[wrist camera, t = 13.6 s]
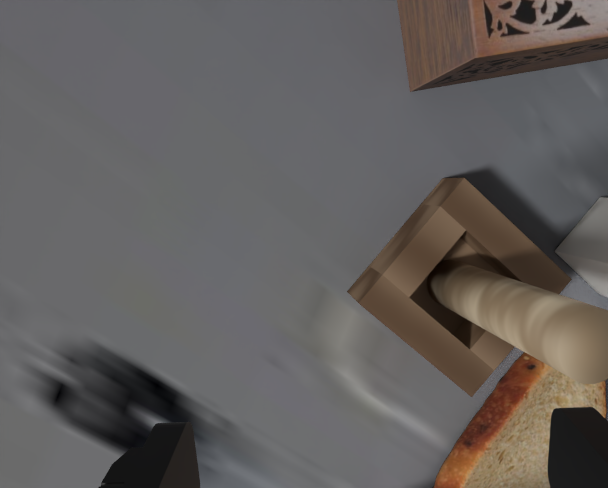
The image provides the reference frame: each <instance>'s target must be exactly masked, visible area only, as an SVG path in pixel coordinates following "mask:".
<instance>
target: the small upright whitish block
mask: <svg viewBox="0 0 608 488" xmlns="http://www.w3.org/2000/svg"><path fill="white" fill-rule="evenodd" d="M554 252H555V253H556V254H557V255H559V256H560V257H561V258H562V259H563V260H564V261H565V262H566V263H567V264H568V265H569V266H570V267H571V268H572V269H573V270H574V271H575V272H576V273H577V274H578V275H579V276H581V277H582V278H583V279H584V280H585V281H586V282H587V283H588V284H589V285H590V286H591V287H592V288H593V289H594V290H595V291H596V292H597V293H598V294H599V295H603V296H606V297H608V198H604V197H600V198H599V199H598V200H597V201H596V203H595V204H594V205H593V206H592V207H591V209H590V210H589V211H588V212H587V213H586V214H585V216H584V217H583V218H582V219H581V220H580V221H579V223H578V224H577V225H576V226H575V227H574V229H573V230H572V231H571V232H570V233H569V234H568V236H567V237H566V238H565V239H564V240H563V242H562V243H561V244H560V245H559V246H558V247H557V249H556V250H555V251H554Z"/></svg>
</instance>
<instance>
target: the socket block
mask: <svg viewBox="0 0 608 488" xmlns="http://www.w3.org/2000/svg"><path fill="white" fill-rule="evenodd" d="M444 260H457V261H460V262H463V263H466V264H469V265H472V266H475V267H478V268H481V269H484V270H487V271H490V272H493V273H496V274H499V275H502V276H505V277H508V278H511V279H514V280H517V281H520V282H523V283H526V284H529V285H532V286H535V287H538V288H541V289H544V290H547V291H550V292H553V293H556V294H560V292H561V291H562V290H563V289H564V288H565V287H566V285H567V284H568V283H569V282H570V281H571V280H572V279H571V278H570V277H569V276H568V275H567V274H566V273H565V272H563V271H562V270H561V269H560V268H559V267H558V266H557V265H556V264H555V263H554V262H553V261H552V260H551V259H550V258H549V257H548V256H547V255H545V254H544V253H543V252H542V251H541V250H540V249H539V248H538V247H537V246H536V245H535V244H534V243H533V242H532V241H531V240H530V239H529V238H528V237H526V236H525V235H524V234H523V233H522V232H521V231H520V230H519V229H518V228H517V227H516V226H515V225H514V224H513V223H512V222H511V221H510V220H509V219H507V218H506V217H505V216H504V215H503V214H502V213H501V212H500V211H499V210H498V209H497V208H496V207H495V206H494V205H493V204H492V203H491V202H489V201H488V200H487V199H486V198H485V197H484V196H483V195H482V194H481V193H480V192H479V191H478V190H477V189H476V188H475V187H474V186H473V185H472V184H470V183H469V182H468V181H467V180H466V179H465V178H443V179H442V180H441V181H440V182H439V183H438V185H437V186H436V187H435V188H434V189H433V191H432V192H431V193H430V194H429V195H428V196H427V198H426V199H425V200H424V201H423V202H422V204H421V205H420V206H419V207H418V208H417V209H416V211H415V212H414V213H413V214H412V215H411V217H410V218H409V219H408V220H407V221H406V223H405V224H404V225H403V226H402V227H401V228H400V230H399V231H398V232H397V233H396V234H395V236H394V237H393V238H392V239H391V240H390V241H389V243H388V244H387V245H386V246H385V247H384V249H383V250H382V251H381V252H380V253H379V255H378V256H377V257H376V258H375V259H374V260H373V262H372V263H371V264H370V265H369V266H368V268H367V269H366V270H365V271H364V272H363V273H362V275H361V276H360V277H359V278H358V279H357V281H356V282H355V283H354V284H353V285H352V286H351V288H350V289H349V290H348V291H347V292H348V293H349V294H350V295H351V296H352V297H353V298H354V299H355V300H356V301H357V302H358V303H359V304H360V305H361V306H363V307H364V308H365V309H366V310H367V311H369V312H370V313H371V314H372V315H373V316H375V317H376V318H377V319H378V320H379V321H381V322H382V323H383V324H384V325H385V326H387V327H388V328H389V329H390V330H391V331H393V332H394V333H395V334H396V335H397V336H399V337H400V338H401V339H402V340H403V341H405V342H406V343H407V344H408V345H410V346H411V347H412V348H413V349H414V350H416V351H417V352H418V353H419V354H420V355H422V356H423V357H424V358H425V359H426V360H428V361H429V362H430V363H431V364H432V365H434V366H435V367H436V368H437V369H438V370H440V371H441V372H442V373H443V374H444V375H446V376H447V377H448V378H449V379H450V380H452V381H453V382H454V383H455V384H456V385H458V386H459V387H460V388H461V389H462V390H464V391H465V392H466V393H467V394H468V395H470V396H471V397H472V396H473V395H474V394H475V392H476V391H477V390H478V389H479V388H480V387H481V385H482V384H483V383H484V382H485V381H486V380H487V378H488V377H489V376H490V375H491V374H492V372H493V371H494V370H495V369H496V368H497V367H498V365H499V364H500V363H501V362H502V361H503V360H504V358H505V357H506V356H507V355H508V354H509V352H510V351H511V350H512V349H513V348H514V347H515V346H513V345H511V344H510V343H508V342H506V341H504V340H502V339H501V338H499V337H497V336H495V335H494V334H492V333H490V332H488V331H487V330H485V329H483V328H481V327H480V326H478V325H476V324H474V323H472V322H471V321H469V320H467V319H465V318H464V317H462V316H460V315H458V314H457V313H455V312H453V311H451V310H449V309H448V308H446V307H444V306H442V305H441V304H439V303H437V302H436V301H434V300H433V299H432V297H431V296H430V294H429V292H428V289H427V279H428V276H429V273H430V272H431V271H432V270H433V269H434V268H435V266H436V265H437V264H438V263H440V262H442V261H444Z"/></svg>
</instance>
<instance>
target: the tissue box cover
mask: <svg viewBox="0 0 608 488" xmlns="http://www.w3.org/2000/svg"><path fill="white" fill-rule="evenodd" d="M397 2H398V9H399V16H400V23H401V30H402V37H403V44H404V51H405V58H406V65H407V72H408V80H409V87H410V92H411V91H417V90H423V89H429V88H435V87H441V86H447V85H453V84H459V83H465V82H471V81H477V80H483V79H489V78H495V77H501V76H506V75H512V74H518V73H524V72H530V71H536V70H542V69H548V68H554V67H560V66H566V65H572V64H578V63H584V62H590V61H596V60H602V59H607V58H608V0H397Z"/></svg>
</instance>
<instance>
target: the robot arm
mask: <svg viewBox="0 0 608 488" xmlns="http://www.w3.org/2000/svg"><path fill="white" fill-rule="evenodd" d="M548 480H549V484H550V488H608V421H607V420H606V419H605V418H604V417H603V416H602V415H601V414H600V413H599V412H598V411H597V410H596V409H595V408H593V407H573V408H556V409H554V410H553V412H552V415H551V424H550V439H549V453H548ZM99 488H200V479H199V471H198V463H197V456H196V448H195V441H194V433H193V428H192V425H191V423H190V422H178V423H157V424H156V425H155V426H154V427H153V429H152V431H151V433H150V435H149V437H148V438H147V440H146V442H145V444H144V446H143V448H130V449H129V450H128V451H127V452H126V453H125V454H124V455H122V456H121V457H120V458H119V459H118V460H117V461H116V462H114V463H113V464H112V466H111V467H110V469H109V471H108V472H107V474H106V476H105V478H104V479H103V481H102V483H101V487H99Z"/></svg>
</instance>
